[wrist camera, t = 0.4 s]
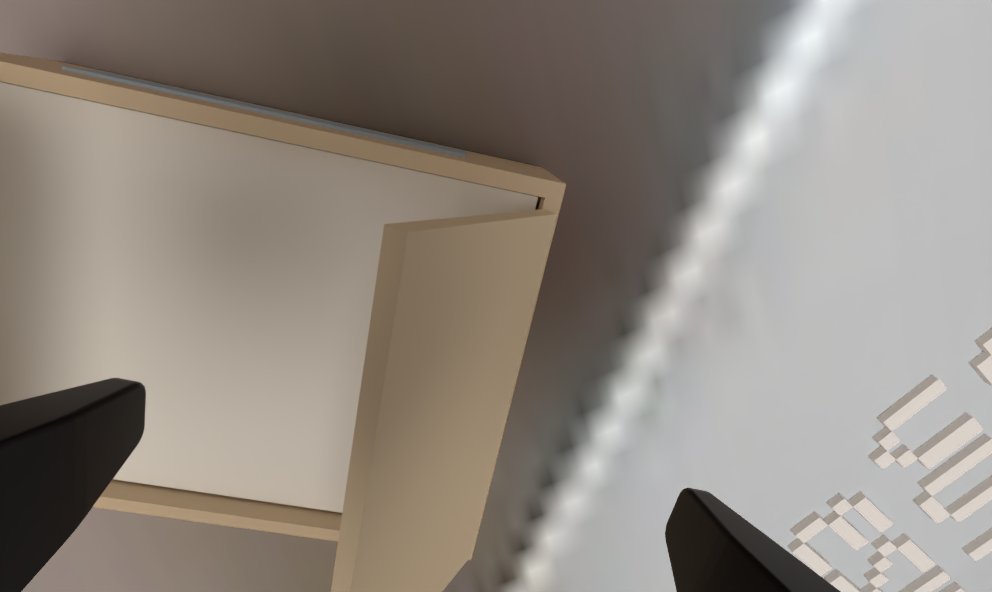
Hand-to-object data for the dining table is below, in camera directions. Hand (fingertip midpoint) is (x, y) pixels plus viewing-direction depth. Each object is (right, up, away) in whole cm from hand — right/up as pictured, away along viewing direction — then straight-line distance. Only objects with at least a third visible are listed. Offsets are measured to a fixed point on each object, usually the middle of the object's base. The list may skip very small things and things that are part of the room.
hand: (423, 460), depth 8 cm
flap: (-1, -1, +5) cm, 5 cm away
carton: (-7, +3, +13) cm, 15 cm away
